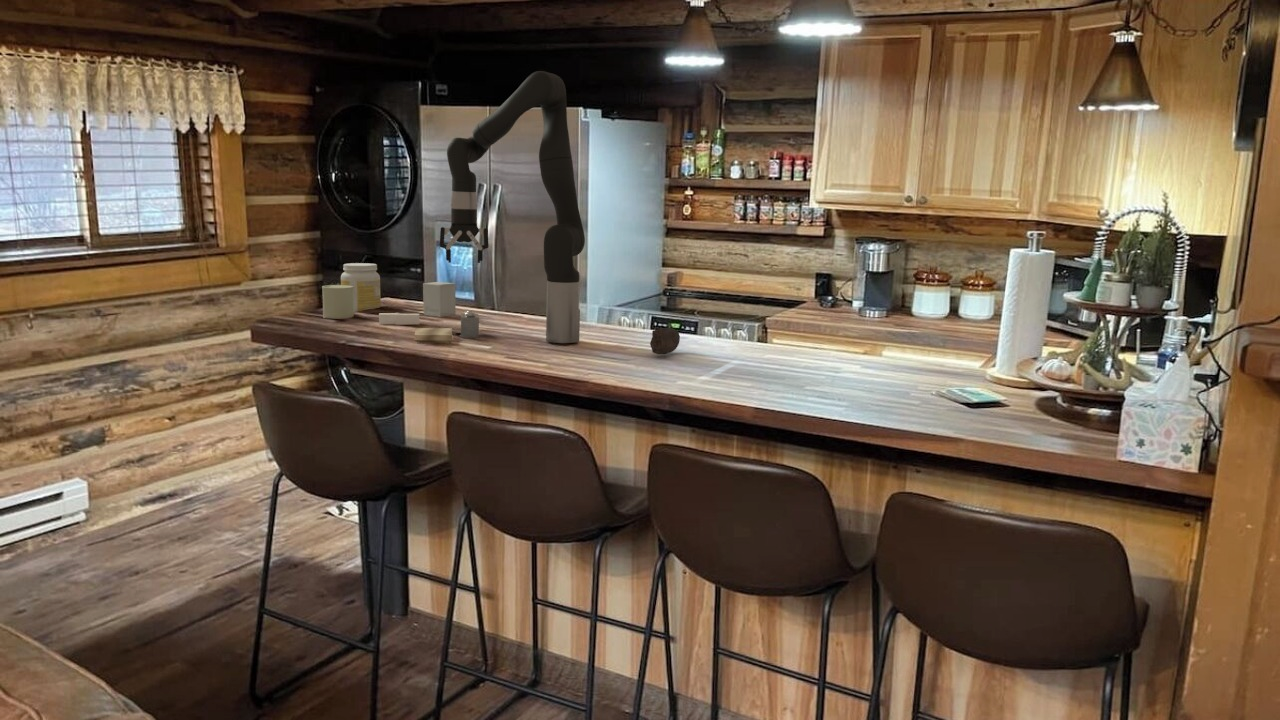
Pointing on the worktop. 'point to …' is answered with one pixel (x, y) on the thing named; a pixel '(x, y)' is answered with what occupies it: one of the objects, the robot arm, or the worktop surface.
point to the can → (337, 301)
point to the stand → (434, 335)
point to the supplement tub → (363, 285)
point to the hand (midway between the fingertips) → (464, 262)
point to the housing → (469, 325)
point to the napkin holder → (398, 318)
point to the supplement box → (439, 299)
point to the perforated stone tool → (664, 340)
